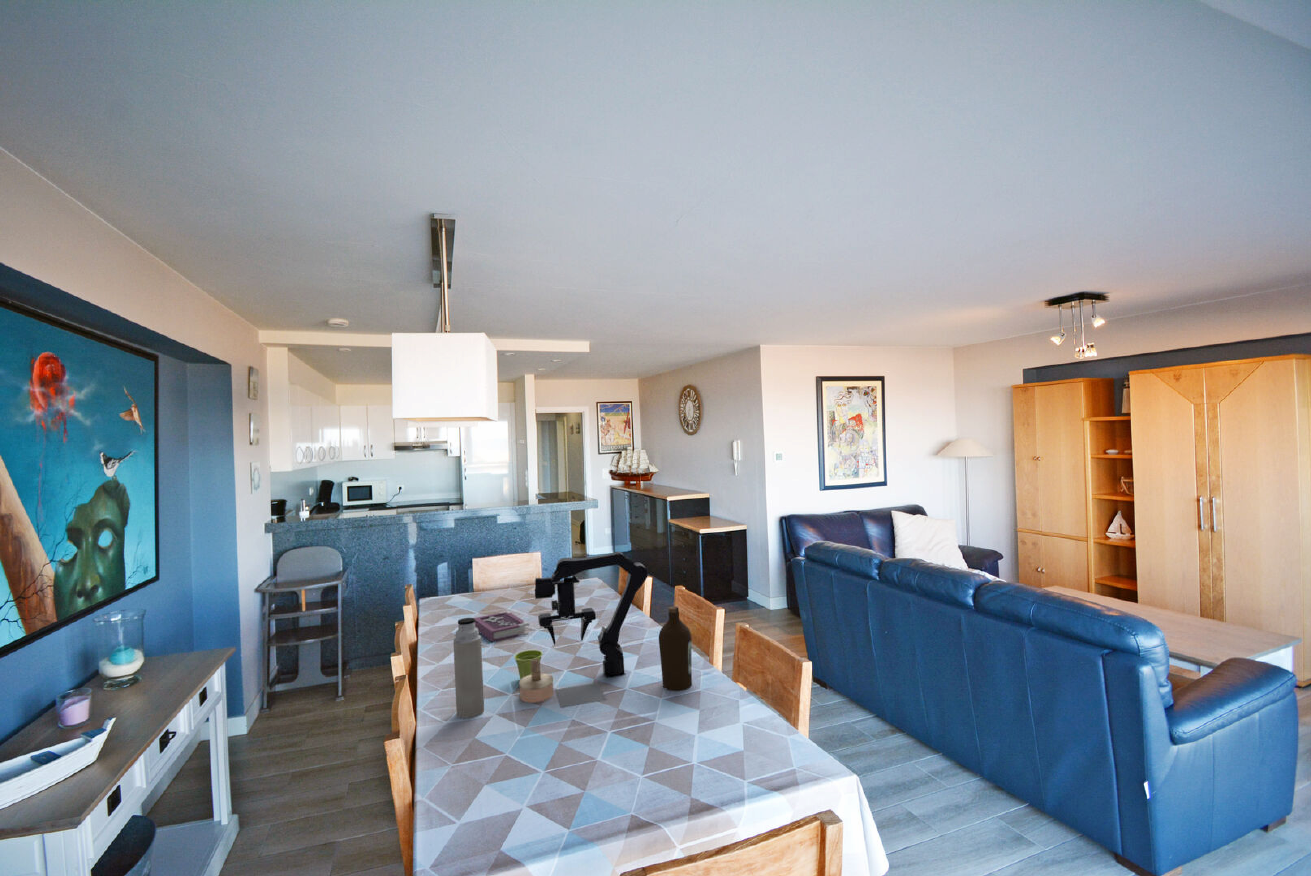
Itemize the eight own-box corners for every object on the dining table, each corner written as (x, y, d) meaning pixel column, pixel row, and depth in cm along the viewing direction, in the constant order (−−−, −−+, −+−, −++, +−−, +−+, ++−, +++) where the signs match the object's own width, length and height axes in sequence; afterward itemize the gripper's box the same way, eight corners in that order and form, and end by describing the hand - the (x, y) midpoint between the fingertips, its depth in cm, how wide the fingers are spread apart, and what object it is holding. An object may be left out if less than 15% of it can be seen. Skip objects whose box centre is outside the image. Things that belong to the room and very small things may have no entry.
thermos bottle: (467, 705, 183) (463, 614, 183) (489, 707, 180) (485, 616, 180) (450, 716, 175) (446, 622, 175) (473, 719, 172) (469, 623, 173)
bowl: (550, 688, 192) (550, 674, 192) (554, 700, 183) (554, 686, 183) (519, 693, 190) (518, 679, 190) (521, 706, 180) (521, 691, 180)
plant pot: (537, 686, 195) (535, 660, 195) (510, 685, 197) (509, 659, 197) (547, 675, 204) (546, 650, 204) (522, 674, 206) (521, 649, 206)
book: (529, 634, 251) (528, 623, 251) (492, 643, 242) (491, 631, 242) (508, 621, 272) (508, 610, 273) (473, 629, 263) (473, 617, 264)
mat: (597, 684, 194) (597, 682, 194) (606, 701, 180) (606, 699, 180) (555, 691, 190) (555, 689, 190) (560, 709, 176) (560, 707, 176)
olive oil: (661, 692, 185) (657, 613, 185) (660, 679, 195) (656, 604, 196) (695, 690, 185) (691, 611, 186) (692, 677, 196) (688, 602, 196)
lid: (550, 674, 193) (549, 652, 193) (555, 686, 183) (554, 663, 183) (518, 679, 190) (517, 657, 190) (520, 692, 180) (519, 668, 180)
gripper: (589, 587, 210) (591, 631, 210) (535, 594, 205) (537, 639, 204) (594, 595, 199) (597, 641, 199) (539, 601, 194) (541, 649, 194)
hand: (568, 642), depth 199 cm, fingers open, 9 cm apart
